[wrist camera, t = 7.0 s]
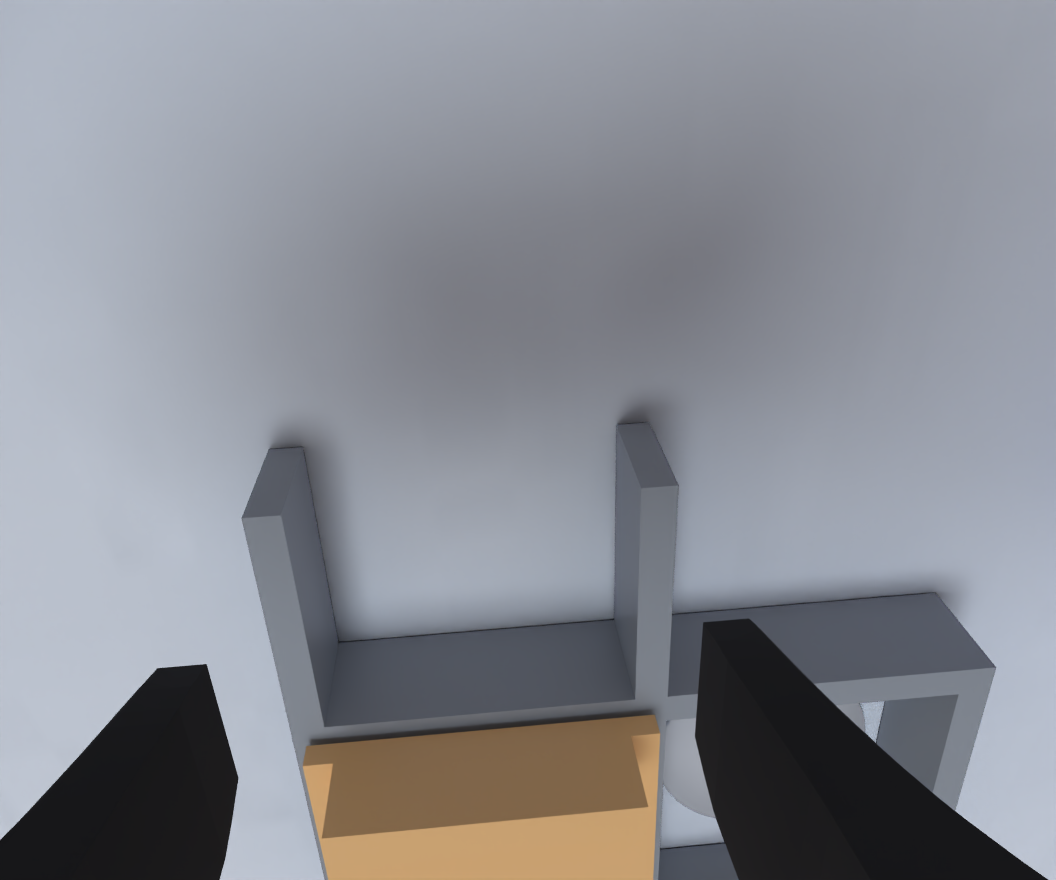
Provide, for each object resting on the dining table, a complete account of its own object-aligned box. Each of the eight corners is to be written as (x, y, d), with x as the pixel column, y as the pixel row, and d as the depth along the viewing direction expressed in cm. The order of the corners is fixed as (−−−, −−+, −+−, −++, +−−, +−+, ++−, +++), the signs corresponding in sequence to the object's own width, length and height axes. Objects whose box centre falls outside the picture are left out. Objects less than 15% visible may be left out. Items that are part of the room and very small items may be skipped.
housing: (980, 398, 21) (1056, 457, 18) (877, 843, 29) (920, 929, 26) (268, 449, 20) (241, 517, 18) (359, 895, 28) (350, 990, 25)
